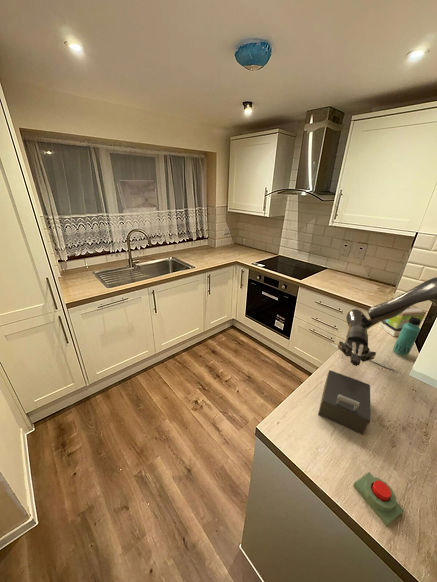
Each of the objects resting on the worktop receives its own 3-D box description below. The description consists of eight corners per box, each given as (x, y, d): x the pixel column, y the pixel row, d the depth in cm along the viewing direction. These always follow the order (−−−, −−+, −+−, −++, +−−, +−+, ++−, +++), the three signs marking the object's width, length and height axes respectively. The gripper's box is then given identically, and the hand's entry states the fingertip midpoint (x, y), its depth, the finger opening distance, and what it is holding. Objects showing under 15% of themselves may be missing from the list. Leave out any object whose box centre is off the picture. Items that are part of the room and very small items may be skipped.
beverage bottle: (389, 353, 113) (405, 318, 105) (393, 347, 118) (408, 313, 109) (406, 360, 109) (423, 324, 101) (409, 354, 113) (426, 319, 105)
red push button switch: (368, 475, 65) (372, 467, 64) (402, 512, 58) (407, 505, 56) (352, 486, 63) (355, 478, 61) (385, 527, 55) (390, 520, 54)
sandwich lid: (368, 424, 72) (374, 413, 70) (321, 403, 78) (325, 392, 76) (368, 387, 85) (373, 377, 83) (328, 372, 92) (331, 362, 89)
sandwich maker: (362, 435, 76) (368, 422, 73) (318, 414, 82) (322, 402, 79) (363, 400, 88) (368, 387, 85) (324, 384, 94) (328, 372, 92)
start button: (377, 481, 61) (380, 477, 60) (391, 496, 58) (394, 493, 57) (368, 488, 60) (370, 484, 59) (382, 504, 57) (385, 500, 56)
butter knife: (393, 370, 102) (394, 366, 104) (329, 344, 117) (331, 341, 119) (393, 371, 102) (394, 367, 104) (329, 345, 118) (331, 342, 120)
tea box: (393, 337, 126) (403, 313, 120) (378, 326, 135) (387, 304, 128) (416, 334, 129) (427, 311, 123) (399, 324, 138) (409, 302, 131)
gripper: (341, 325, 97) (337, 348, 83) (379, 336, 91) (380, 362, 77) (337, 340, 100) (332, 364, 86) (372, 351, 94) (373, 379, 80)
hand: (355, 363), depth 82 cm, fingers closed
